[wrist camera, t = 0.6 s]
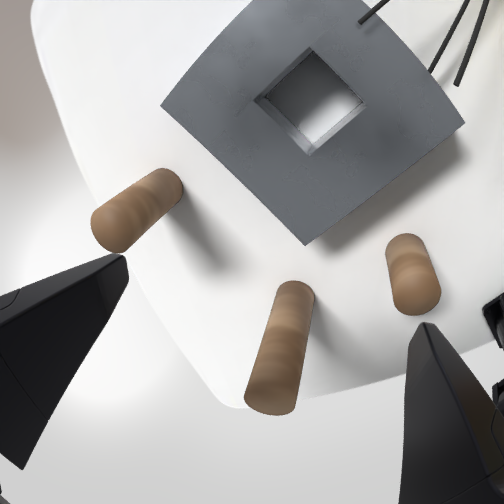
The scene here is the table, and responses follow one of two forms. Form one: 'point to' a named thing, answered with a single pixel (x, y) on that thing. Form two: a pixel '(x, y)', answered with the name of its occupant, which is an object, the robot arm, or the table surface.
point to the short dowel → (411, 275)
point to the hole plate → (286, 134)
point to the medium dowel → (135, 210)
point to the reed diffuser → (448, 37)
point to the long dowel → (281, 351)
